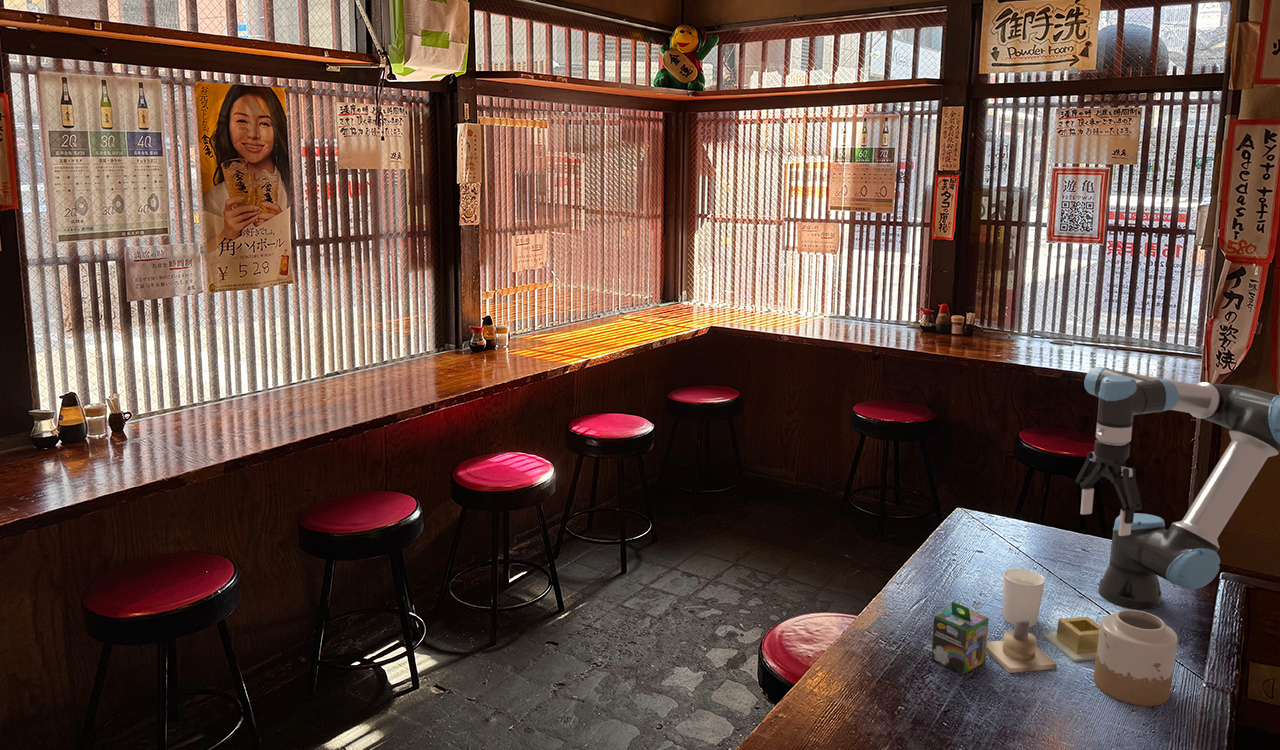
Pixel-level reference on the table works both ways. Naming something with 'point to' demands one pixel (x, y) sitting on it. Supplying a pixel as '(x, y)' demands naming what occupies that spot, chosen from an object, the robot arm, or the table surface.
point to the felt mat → (1067, 650)
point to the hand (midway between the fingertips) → (1104, 524)
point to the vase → (1135, 658)
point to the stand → (1019, 650)
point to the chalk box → (960, 638)
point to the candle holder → (1022, 595)
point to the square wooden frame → (1079, 634)
